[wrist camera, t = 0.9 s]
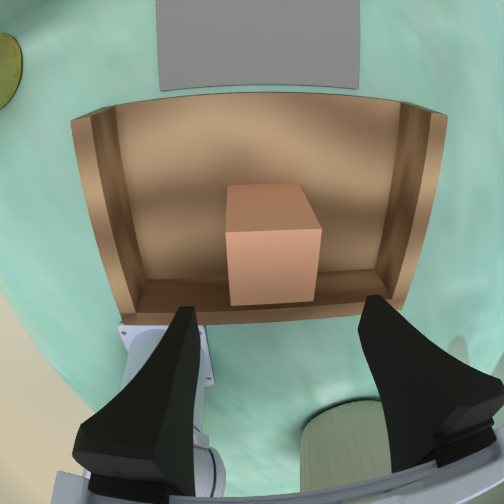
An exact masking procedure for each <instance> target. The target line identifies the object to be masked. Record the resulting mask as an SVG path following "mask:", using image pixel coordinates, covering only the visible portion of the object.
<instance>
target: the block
mask: <svg viewBox="0 0 504 504" xmlns="http://www.w3.org/2000/svg"><path fill="white" fill-rule="evenodd" d="M321 233H322V228H321V226H320V224H319V222H318V220H317V218H316V216H315V214H314V212H313V210H312V208H311V206H310V204H309V202H308V200H307V198H306V196H305V194H304V192H303V190H302V188H301V186H300V185H299V183H285V184H250V185H227V204H226V230H225V234H226V248H227V262H228V275H229V288H230V301H231V306H238V305H259V304H277V303H293V302H308V301H313V300H314V293H315V285H316V277H317V269H318V260H319V252H320V243H321Z"/></svg>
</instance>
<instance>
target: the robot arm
mask: <svg viewBox="0 0 504 504" xmlns="http://www.w3.org/2000/svg"><path fill="white" fill-rule="evenodd" d="M118 331H119V333H120V336H121V338H122V340H123V343H124V345H125V347H126V350H127V352H128V356H127V360H126V364H125V368H124V372H123V376H122V380H121V384H120V389H119V393H118V394H117V395H116V396H115V397H114V398H113V399H112V400H111V401H110V402H109V403H108V404H106V405H105V406H104V407H103V408H102V409H101V410H99V411H98V412H97V413H96V414H94V415H93V416H92V417H90V418H89V419H88V420H86V421H85V422H84V423H82V424H81V425H80V428H79V430H78V433H77V436H76V439H75V443H74V448H73V452H72V455H73V458H74V459H75V460H76V461H77V462H78V463H79V464H80V465H81V466H83V467H84V471H83V477H82V476H78V475H74V474H70V473H66V472H62V471H57V475H56V479H55V484H54V489H53V494H52V500H51V504H344V503H349V502H353V501H358V500H362V499H366V498H370V497H374V496H378V495H382V494H385V493H387V494H386V496H385V497H382V498H378V499H374V500H370V501H366V502H362V503H358V504H463V503H465V502H467V501H469V500H471V499H473V498H475V497H476V496H478V495H480V494H482V493H484V492H486V491H488V490H489V489H491V488H493V487H494V486H496V485H498V484H500V483H501V482H503V481H504V425H502V426H501V427H499V428H497V429H496V430H494V431H493V429H492V426H493V425H494V421H493V418H492V417H493V416H494V415H495V414H496V413H497V412H498V410H499V409H500V408H501V407H502V406H503V405H504V385H503V383H502V381H501V380H500V379H498V378H495V377H493V376H490V375H488V374H485V373H483V372H481V371H478V370H476V369H474V368H472V367H470V366H468V365H467V364H464V363H463V362H461V361H459V360H458V359H456V358H454V357H453V356H451V355H449V354H448V353H447V352H445V351H444V350H442V349H441V348H440V347H438V346H437V345H435V344H434V343H433V342H431V341H430V340H429V339H428V338H426V337H425V336H424V335H423V334H422V333H420V332H419V331H418V330H417V329H416V328H415V327H414V326H412V325H411V324H410V323H409V322H408V321H407V320H406V319H405V318H404V317H403V316H402V315H401V314H400V313H399V312H397V311H396V310H395V309H394V308H393V307H392V306H391V305H390V304H389V303H388V302H387V301H386V300H385V299H384V298H383V297H382V296H380V295H369V296H367V297H366V300H365V304H364V308H363V312H362V315H361V319H360V322H359V326H358V333H359V337H360V341H361V345H362V349H363V352H364V355H365V357H366V360H367V363H368V365H369V368H370V370H371V373H372V376H373V378H374V381H375V384H376V386H377V389H378V392H379V395H380V399H381V403H382V407H383V412H384V416H385V422H386V427H387V433H388V440H389V447H390V458H391V473H392V474H389V475H386V476H382V477H378V478H374V479H370V480H366V481H362V482H357V483H353V484H348V485H343V486H338V487H332V488H327V489H321V490H314V491H307V492H299V493H291V494H281V495H269V496H254V497H223V494H224V490H225V484H226V472H225V466H224V463H223V461H222V459H221V457H220V454H219V453H218V451H217V450H216V449H214V448H212V447H209V436H208V435H205V434H202V433H203V419H204V394H205V386H213V385H214V376H213V371H212V366H211V360H210V355H209V349H208V344H207V338H206V332H205V326H204V325H198V323H197V317H196V312H195V306H180V307H179V308H178V309H177V311H176V313H175V315H174V317H173V319H172V321H171V323H170V325H169V326H136V325H124V323H119V325H118ZM124 331H125V332H124ZM199 331H201V332H199ZM389 492H390V493H389Z"/></svg>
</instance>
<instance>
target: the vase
mask: <svg viewBox="0 0 504 504" xmlns="http://www.w3.org/2000/svg"><path fill="white" fill-rule="evenodd" d="M20 75H21V52H20V48H19V46H18V44H17V42H16V41H15V39H14V38H13V37H11V36H10V35H7V34H4V33H0V109H1V108H2V107H3V106H4V105H5V104H6V103H7V102H8V101H9V100H10V99H11V97H12V96H13V94H14V92H15V90H16V88H17V86H18V83H19V79H20Z"/></svg>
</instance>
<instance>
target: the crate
mask: <svg viewBox="0 0 504 504" xmlns="http://www.w3.org/2000/svg"><path fill="white" fill-rule="evenodd" d="M447 119H448V116H447V115H444V114H442V113H439V112H436V111H433V110H430V109H427V108H424V107H421V106H418V105H415V104H412V103H408V102H401V101H394V100H387V99H379V98H371V97H362V96H351V95H340V94H325V93H305V92H236V93H216V94H201V95H189V96H179V97H169V98H161V99H153V100H146V101H139V102H132V103H126V104H120V105H114V106H109V107H104V108H100V109H98V110H95V111H93V112H90V113H88V114H85V115H83V116H81V117H78V118H76V119H74V120H71V121H70V122H71V129H72V135H73V141H74V147H75V152H76V158H77V163H78V168H79V173H80V178H81V182H82V187H83V191H84V196H85V200H86V204H87V208H88V212H89V216H90V220H91V224H92V228H93V231H94V235H95V238H96V242H97V245H98V249H99V252H100V256H101V259H102V262H103V265H104V268H105V272H106V275H107V278H108V281H109V284H110V287H111V290H112V293H113V296H114V298H115V301H116V304H117V307H118V310H119V312H120V315H121V318H122V320H123V323H124V325H136V326H169V325H170V323H171V321H172V319H173V317H174V315H175V313H176V311H177V309H178V308H179V307H180V306H195V312H196V317H197V323H198V325H219V324H244V323H264V322H280V321H295V320H308V319H320V318H332V317H342V316H352V315H362V312H363V308H364V304H365V300H366V297H367V296H369V295H380V296H382V297H383V298H384V299H385V300H386V301H387V302H388V303H389V304H390V305H391V306H392V307H393V308H394V309H395V310H402V308H403V305H404V303H405V300H406V297H407V294H408V291H409V288H410V285H411V282H412V279H413V276H414V272H415V269H416V266H417V263H418V259H419V256H420V252H421V249H422V245H423V242H424V238H425V234H426V230H427V226H428V222H429V218H430V214H431V210H432V206H433V201H434V197H435V192H436V187H437V182H438V177H439V172H440V166H441V161H442V155H443V149H444V142H445V135H446V127H447ZM285 183H299V185H300V186H301V188H302V190H303V192H304V194H305V196H306V198H307V200H308V202H309V204H310V206H311V208H312V210H313V212H314V214H315V216H316V218H317V220H318V222H319V224H320V226H321V228H322V233H321V243H320V252H319V260H318V269H317V277H316V285H315V293H314V300H313V301H308V302H293V303H277V304H259V305H238V306H231V301H230V288H229V275H228V262H227V248H226V234H225V230H226V204H227V185H250V184H285Z"/></svg>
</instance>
